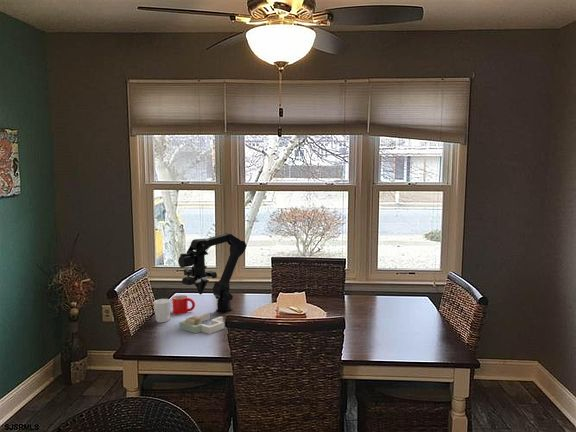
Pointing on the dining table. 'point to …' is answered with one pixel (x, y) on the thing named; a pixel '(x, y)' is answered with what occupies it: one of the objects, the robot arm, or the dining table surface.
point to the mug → (181, 304)
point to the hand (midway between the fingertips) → (200, 294)
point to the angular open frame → (215, 325)
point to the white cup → (162, 310)
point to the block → (193, 320)
